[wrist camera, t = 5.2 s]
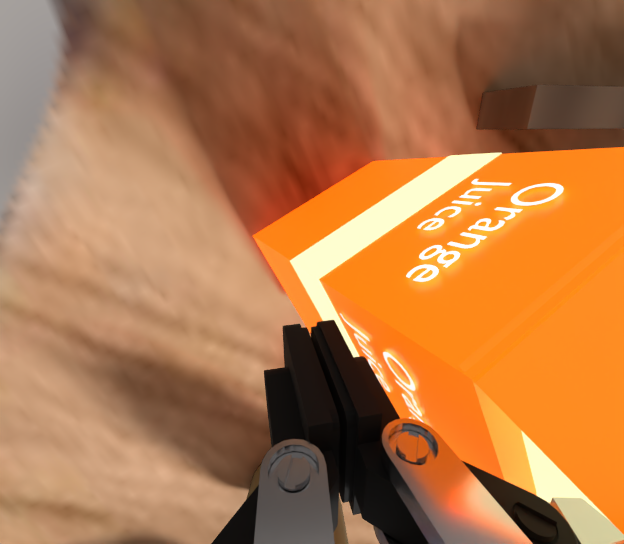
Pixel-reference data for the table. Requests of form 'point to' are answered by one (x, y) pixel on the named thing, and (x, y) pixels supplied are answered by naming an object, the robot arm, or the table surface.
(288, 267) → the orange juice
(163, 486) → the table surface
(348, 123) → the table surface
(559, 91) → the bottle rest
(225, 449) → the table surface
